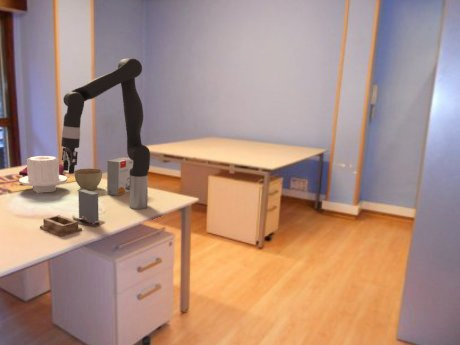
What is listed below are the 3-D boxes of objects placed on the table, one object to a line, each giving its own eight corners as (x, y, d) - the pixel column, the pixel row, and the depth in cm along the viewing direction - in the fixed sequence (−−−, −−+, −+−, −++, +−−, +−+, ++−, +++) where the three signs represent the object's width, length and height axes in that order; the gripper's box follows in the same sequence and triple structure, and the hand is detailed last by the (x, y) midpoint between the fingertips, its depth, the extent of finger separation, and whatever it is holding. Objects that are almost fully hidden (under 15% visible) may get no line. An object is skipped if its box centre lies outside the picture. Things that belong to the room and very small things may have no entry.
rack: (39, 228, 167) (39, 219, 166) (60, 222, 175) (60, 214, 174) (61, 236, 159) (60, 227, 158) (82, 230, 167) (81, 221, 166)
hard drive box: (118, 196, 221) (117, 162, 217) (106, 194, 224) (106, 160, 220) (133, 190, 236) (133, 158, 232) (122, 188, 238) (122, 156, 234)
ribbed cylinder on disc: (59, 183, 243) (58, 153, 239) (73, 192, 224) (72, 160, 221) (14, 188, 226) (12, 156, 222) (26, 198, 208) (24, 163, 204)
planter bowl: (85, 184, 244) (85, 167, 242) (108, 187, 240) (107, 170, 238) (68, 189, 229) (67, 171, 227) (92, 193, 225) (91, 175, 222)
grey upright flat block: (79, 219, 180) (78, 190, 177) (84, 218, 183) (83, 189, 180) (93, 224, 175) (92, 194, 172) (98, 222, 177) (98, 193, 175)
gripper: (84, 139, 172) (81, 175, 174) (74, 135, 183) (71, 169, 185) (67, 137, 167) (64, 174, 169) (57, 134, 178) (55, 169, 180)
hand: (68, 172), depth 177 cm, fingers open, 8 cm apart
